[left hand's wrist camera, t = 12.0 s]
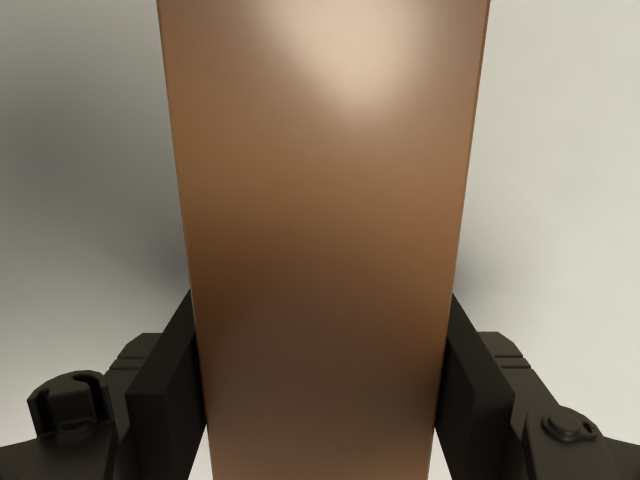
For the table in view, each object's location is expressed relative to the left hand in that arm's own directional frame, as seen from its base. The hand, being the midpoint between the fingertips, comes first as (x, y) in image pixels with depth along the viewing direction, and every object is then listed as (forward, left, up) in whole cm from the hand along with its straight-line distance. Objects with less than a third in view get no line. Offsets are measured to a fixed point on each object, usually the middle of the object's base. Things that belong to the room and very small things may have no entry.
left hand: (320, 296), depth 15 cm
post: (-3, +33, -2) cm, 33 cm away
